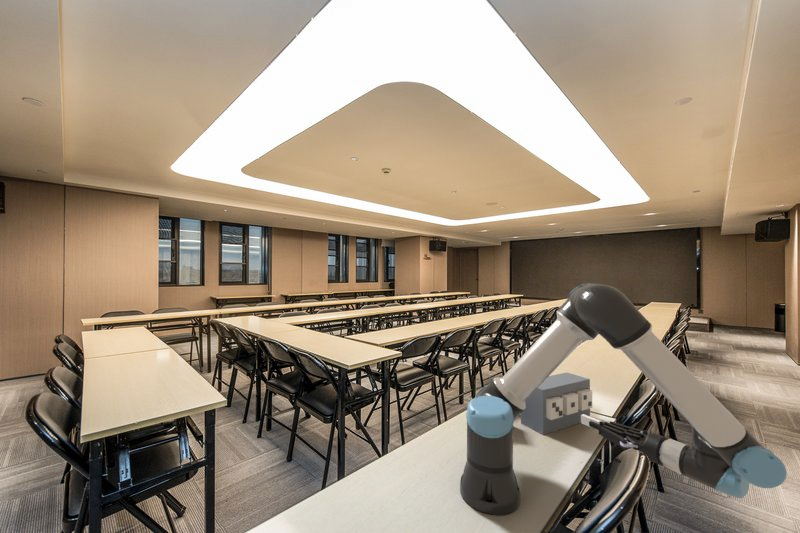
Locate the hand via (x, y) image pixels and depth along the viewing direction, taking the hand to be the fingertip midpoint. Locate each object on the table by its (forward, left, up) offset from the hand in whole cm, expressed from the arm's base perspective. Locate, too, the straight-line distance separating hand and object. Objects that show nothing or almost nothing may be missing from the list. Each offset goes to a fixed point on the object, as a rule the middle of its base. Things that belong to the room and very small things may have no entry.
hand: (582, 418), depth 109 cm
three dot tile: (0, +11, -4) cm, 11 cm away
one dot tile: (+9, +11, -4) cm, 14 cm away
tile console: (+9, +17, -9) cm, 21 cm away
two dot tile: (+18, +11, -4) cm, 21 cm away
